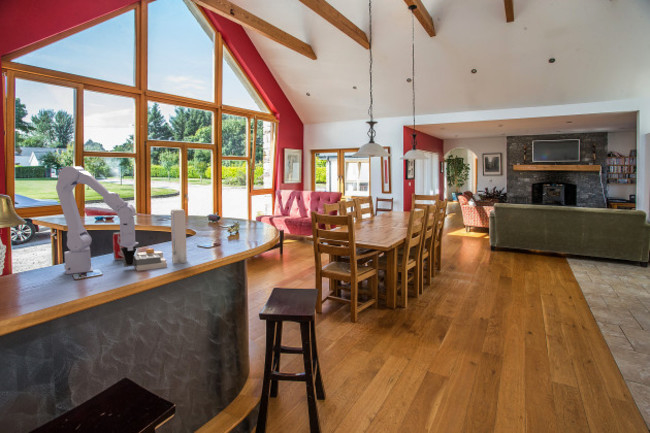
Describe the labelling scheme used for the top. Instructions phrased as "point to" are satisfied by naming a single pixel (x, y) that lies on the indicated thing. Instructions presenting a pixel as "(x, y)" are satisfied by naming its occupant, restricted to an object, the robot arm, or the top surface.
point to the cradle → (152, 266)
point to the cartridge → (144, 260)
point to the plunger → (149, 250)
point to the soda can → (117, 247)
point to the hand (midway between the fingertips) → (129, 264)
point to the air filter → (178, 236)
